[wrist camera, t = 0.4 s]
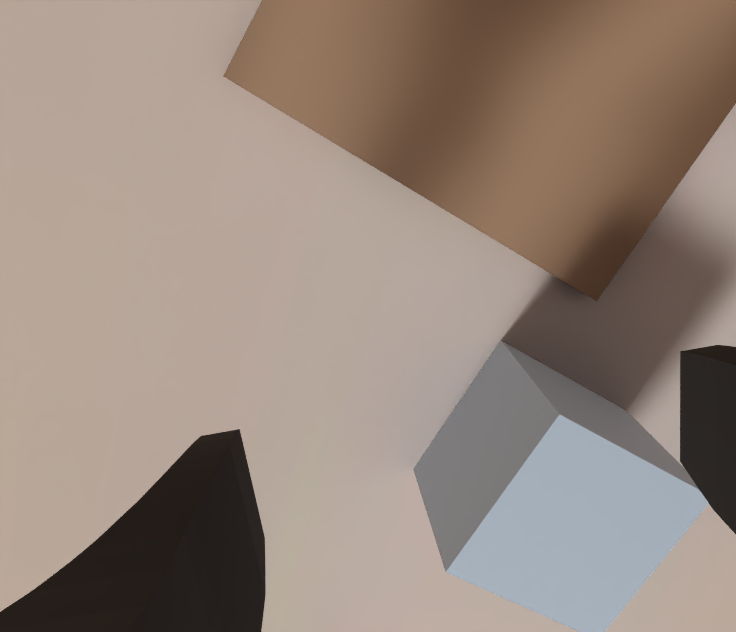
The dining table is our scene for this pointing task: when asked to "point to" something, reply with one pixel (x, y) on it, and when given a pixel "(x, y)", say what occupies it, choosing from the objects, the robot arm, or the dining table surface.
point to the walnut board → (510, 107)
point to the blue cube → (552, 494)
